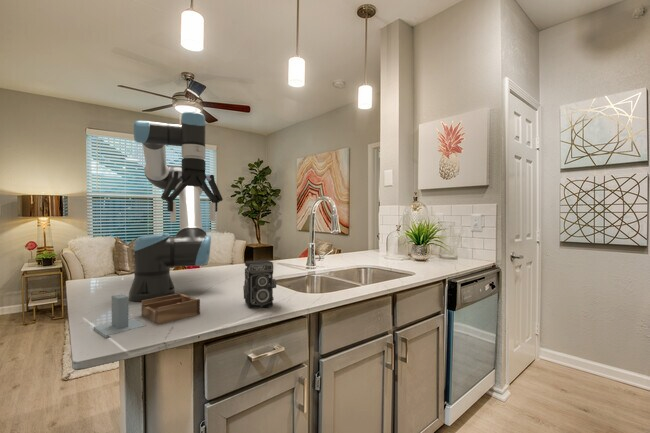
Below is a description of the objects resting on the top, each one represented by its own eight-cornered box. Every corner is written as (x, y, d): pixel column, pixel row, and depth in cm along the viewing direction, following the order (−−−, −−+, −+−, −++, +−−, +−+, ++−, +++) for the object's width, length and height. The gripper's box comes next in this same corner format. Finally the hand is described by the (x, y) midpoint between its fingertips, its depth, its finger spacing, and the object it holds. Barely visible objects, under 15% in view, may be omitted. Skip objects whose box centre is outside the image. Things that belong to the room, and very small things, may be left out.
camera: (246, 312, 99) (246, 265, 99) (241, 304, 109) (241, 260, 109) (279, 309, 104) (279, 263, 104) (271, 300, 113) (271, 258, 113)
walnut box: (141, 317, 95) (141, 300, 95) (181, 308, 104) (181, 292, 104) (158, 326, 87) (158, 308, 87) (199, 315, 97) (199, 299, 97)
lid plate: (93, 330, 85) (93, 296, 85) (132, 321, 92) (132, 290, 92) (105, 339, 79) (105, 303, 79) (146, 328, 86) (146, 295, 86)
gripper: (158, 152, 96) (159, 222, 96) (232, 162, 115) (232, 221, 115) (149, 155, 101) (150, 221, 101) (221, 164, 120) (221, 220, 120)
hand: (193, 221), depth 108 cm, fingers open, 13 cm apart
